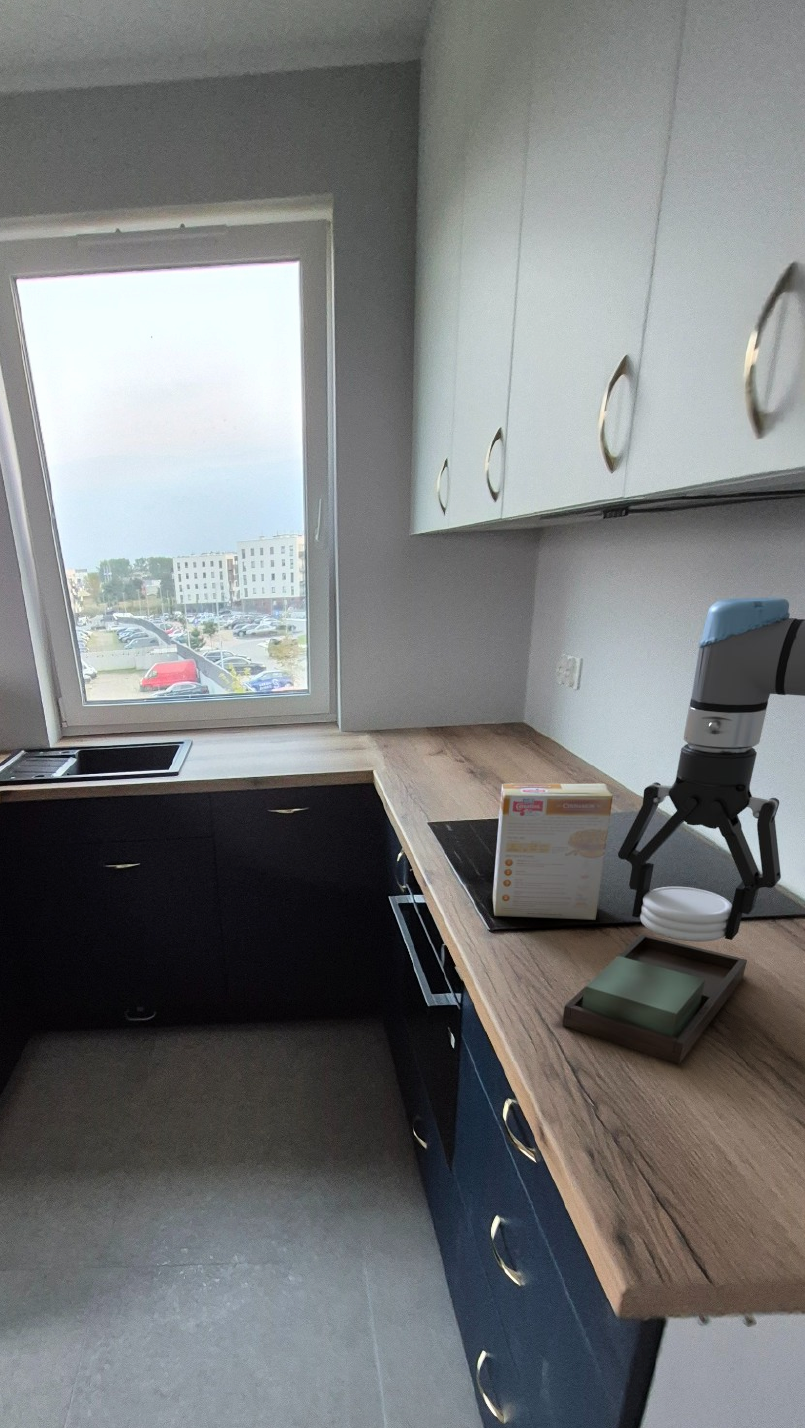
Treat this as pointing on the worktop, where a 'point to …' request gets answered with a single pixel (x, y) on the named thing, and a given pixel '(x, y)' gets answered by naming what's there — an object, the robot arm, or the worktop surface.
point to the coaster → (686, 913)
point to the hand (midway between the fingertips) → (683, 924)
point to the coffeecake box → (551, 850)
